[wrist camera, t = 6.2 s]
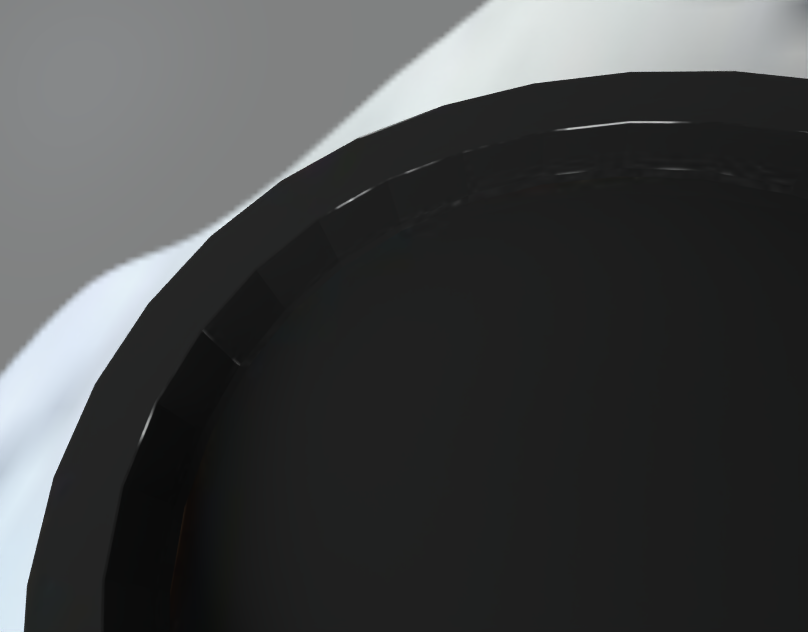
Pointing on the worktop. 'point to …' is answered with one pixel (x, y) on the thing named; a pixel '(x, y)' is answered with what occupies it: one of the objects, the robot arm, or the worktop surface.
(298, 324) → the coffee cup
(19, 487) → the worktop surface
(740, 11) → the worktop surface
